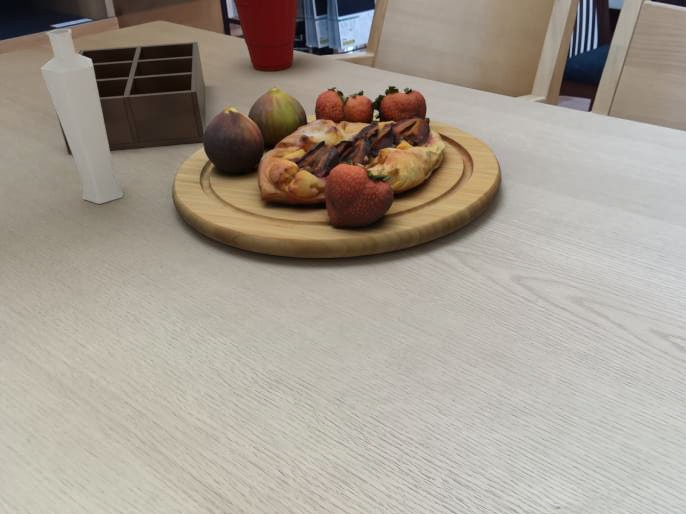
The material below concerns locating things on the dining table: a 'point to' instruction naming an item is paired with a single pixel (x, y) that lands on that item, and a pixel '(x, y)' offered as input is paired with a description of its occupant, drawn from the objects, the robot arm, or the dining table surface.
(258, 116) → the wooden plate
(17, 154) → the dining table surface
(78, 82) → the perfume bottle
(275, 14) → the plastic cup
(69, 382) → the dining table surface
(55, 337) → the dining table surface
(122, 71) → the rack
